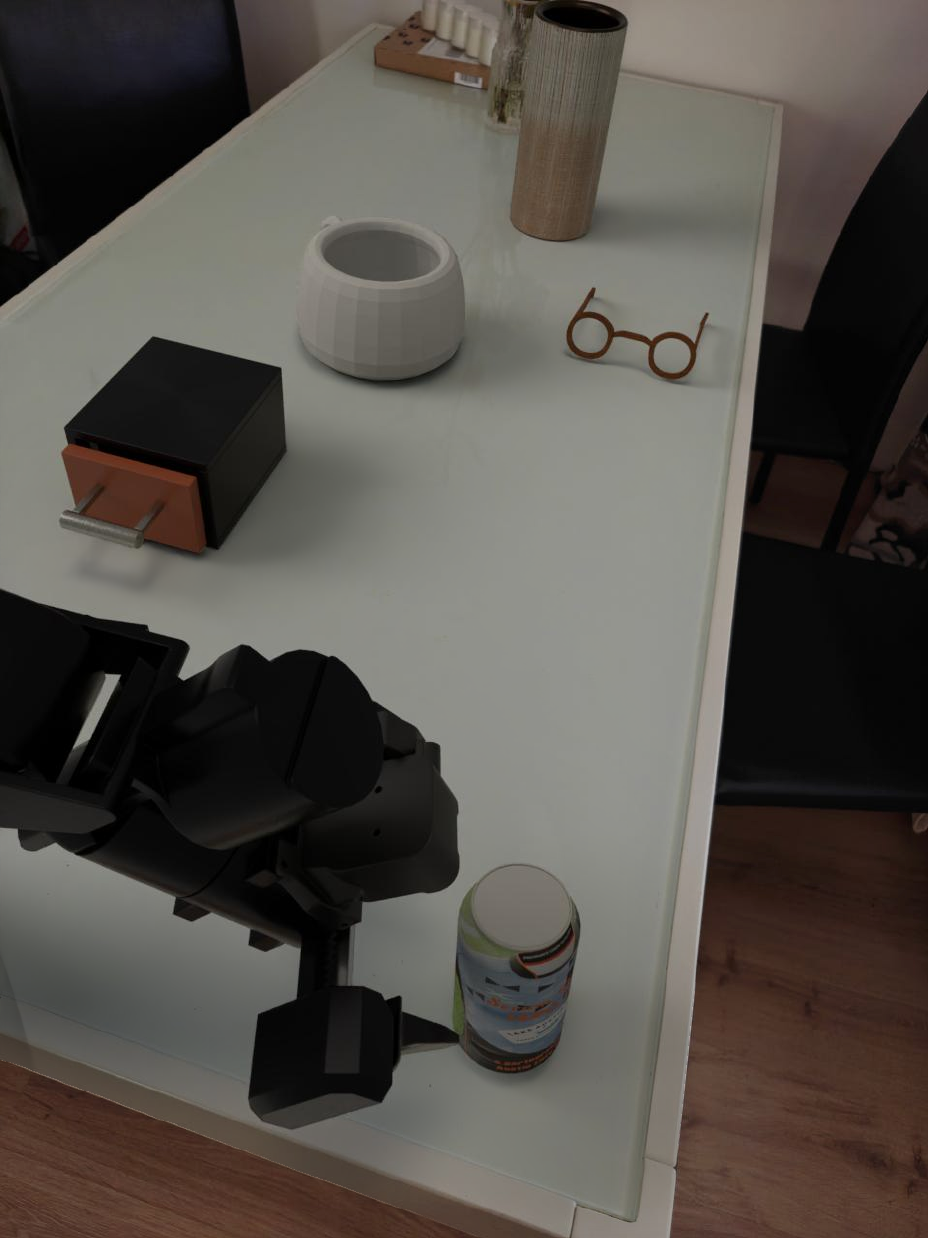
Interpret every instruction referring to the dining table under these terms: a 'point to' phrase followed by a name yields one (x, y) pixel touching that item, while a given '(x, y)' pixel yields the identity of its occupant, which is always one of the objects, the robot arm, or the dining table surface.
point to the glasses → (633, 336)
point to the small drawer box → (194, 422)
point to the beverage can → (514, 967)
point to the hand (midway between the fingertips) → (451, 948)
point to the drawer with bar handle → (133, 498)
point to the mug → (380, 298)
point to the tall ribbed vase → (566, 116)
